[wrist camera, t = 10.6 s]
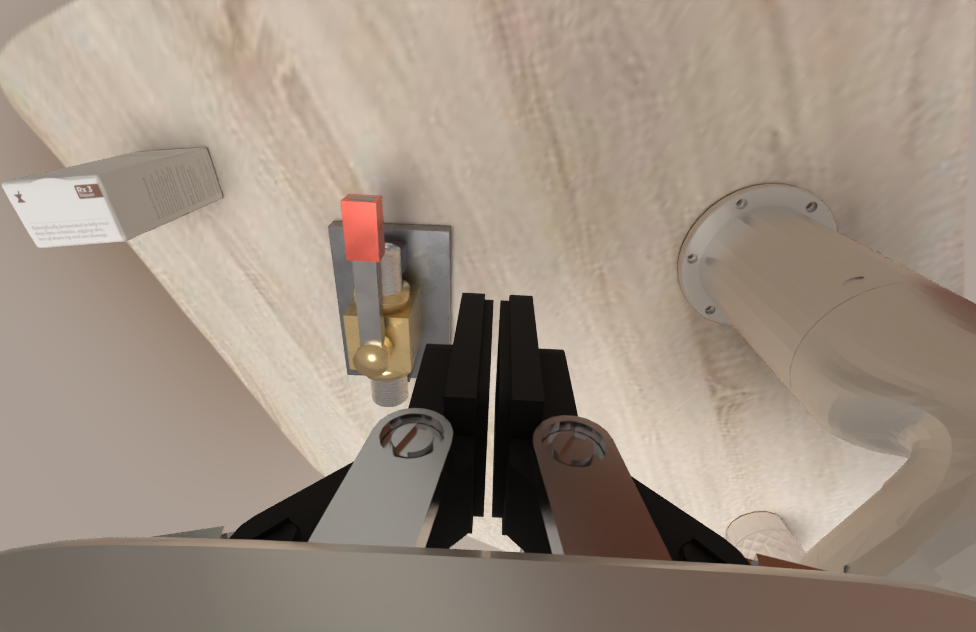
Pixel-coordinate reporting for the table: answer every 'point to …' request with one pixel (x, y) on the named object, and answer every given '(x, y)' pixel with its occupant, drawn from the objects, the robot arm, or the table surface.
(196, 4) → the table surface
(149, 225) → the skincare box
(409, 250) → the valve manifold
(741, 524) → the white cup
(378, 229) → the valve lever
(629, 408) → the table surface
